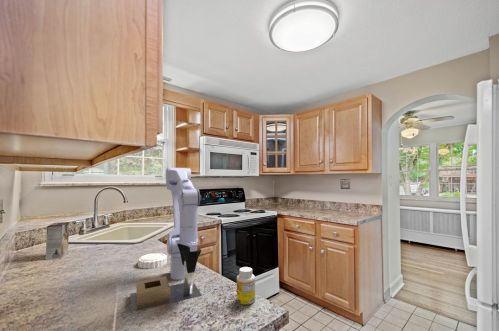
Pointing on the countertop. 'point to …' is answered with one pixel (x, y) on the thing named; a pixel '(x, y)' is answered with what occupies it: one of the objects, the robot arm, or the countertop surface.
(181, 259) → the robot arm
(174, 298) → the clevis base
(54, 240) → the coffee box
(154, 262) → the mooncake
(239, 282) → the supplement bottle
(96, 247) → the countertop surface
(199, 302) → the countertop surface
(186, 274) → the steel pin
